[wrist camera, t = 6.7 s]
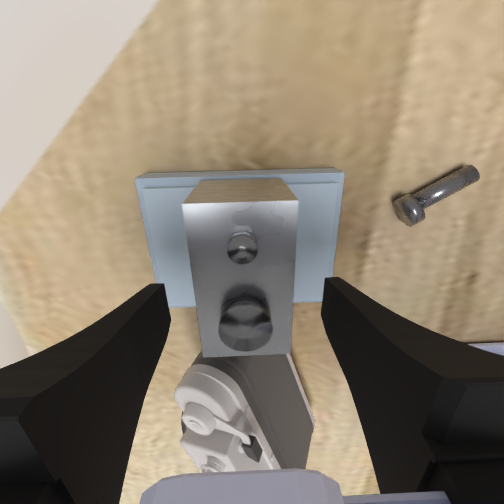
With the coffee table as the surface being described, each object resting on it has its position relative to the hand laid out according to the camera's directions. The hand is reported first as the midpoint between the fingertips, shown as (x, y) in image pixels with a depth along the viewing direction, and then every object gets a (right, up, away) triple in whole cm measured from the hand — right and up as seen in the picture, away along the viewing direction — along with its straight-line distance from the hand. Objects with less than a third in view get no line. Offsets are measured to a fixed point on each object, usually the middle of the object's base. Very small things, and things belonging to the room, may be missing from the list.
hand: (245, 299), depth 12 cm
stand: (0, +3, +7) cm, 8 cm away
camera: (-1, -9, +13) cm, 15 cm away
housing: (0, +3, +4) cm, 5 cm away
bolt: (+13, +6, +6) cm, 15 cm away
